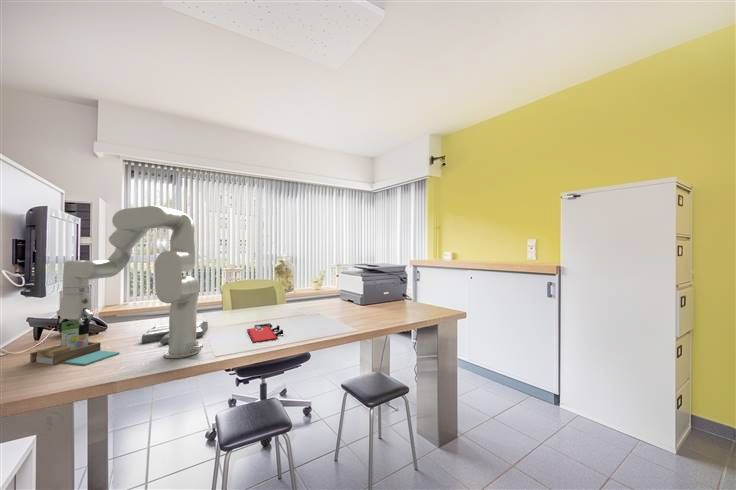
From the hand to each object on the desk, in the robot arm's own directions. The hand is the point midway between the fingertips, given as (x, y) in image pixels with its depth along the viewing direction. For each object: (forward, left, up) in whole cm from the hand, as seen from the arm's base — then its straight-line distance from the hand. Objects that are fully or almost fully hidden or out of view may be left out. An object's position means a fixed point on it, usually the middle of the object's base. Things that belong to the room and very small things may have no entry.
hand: (74, 333), depth 117 cm
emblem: (-19, -30, -9) cm, 37 cm away
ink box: (0, 0, -9) cm, 9 cm away
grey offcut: (0, +7, -9) cm, 11 cm away
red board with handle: (-58, -44, -9) cm, 74 cm away
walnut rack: (0, +2, -8) cm, 9 cm away
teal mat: (-12, +2, -8) cm, 15 cm away
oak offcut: (0, +7, -6) cm, 9 cm away
